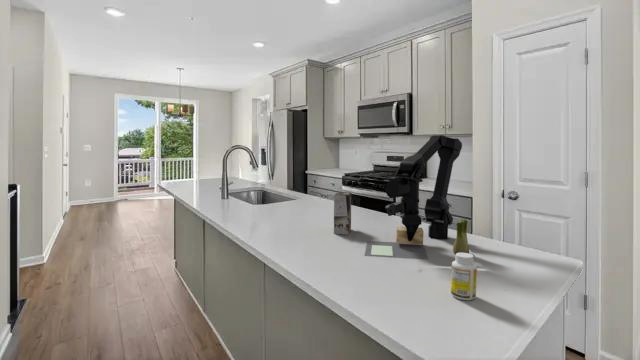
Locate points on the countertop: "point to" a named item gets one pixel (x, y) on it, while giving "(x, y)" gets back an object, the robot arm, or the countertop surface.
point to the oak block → (403, 238)
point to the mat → (395, 250)
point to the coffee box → (342, 213)
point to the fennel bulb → (461, 238)
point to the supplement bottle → (463, 277)
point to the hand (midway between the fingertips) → (409, 238)
